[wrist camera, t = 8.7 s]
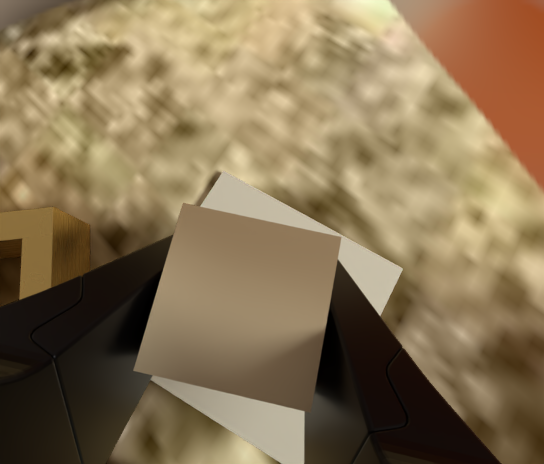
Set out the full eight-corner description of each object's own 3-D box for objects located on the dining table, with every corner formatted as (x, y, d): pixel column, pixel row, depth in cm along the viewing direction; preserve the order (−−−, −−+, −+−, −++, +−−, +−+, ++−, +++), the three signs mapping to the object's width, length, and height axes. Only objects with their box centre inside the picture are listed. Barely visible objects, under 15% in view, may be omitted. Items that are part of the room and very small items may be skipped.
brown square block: (284, 352, 15) (310, 412, 6) (216, 337, 15) (132, 371, 6) (297, 284, 16) (341, 237, 6) (233, 269, 16) (182, 203, 6)
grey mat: (301, 472, 15) (302, 476, 14) (109, 350, 16) (106, 351, 15) (399, 269, 17) (403, 268, 16) (224, 173, 18) (223, 170, 17)
